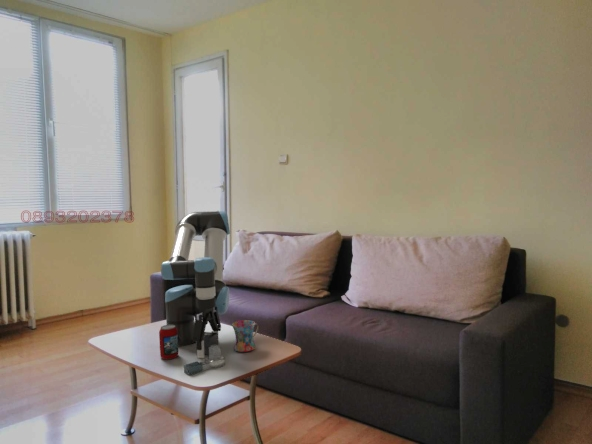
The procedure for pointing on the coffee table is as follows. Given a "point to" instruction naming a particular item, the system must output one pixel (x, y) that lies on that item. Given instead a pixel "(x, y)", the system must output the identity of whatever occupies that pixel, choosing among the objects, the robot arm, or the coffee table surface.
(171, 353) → the beverage can
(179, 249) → the robot arm
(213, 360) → the faucet
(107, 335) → the coffee table surface
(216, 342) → the cube with silver knob
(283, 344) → the coffee table surface
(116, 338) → the coffee table surface
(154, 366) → the coffee table surface
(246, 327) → the mug
